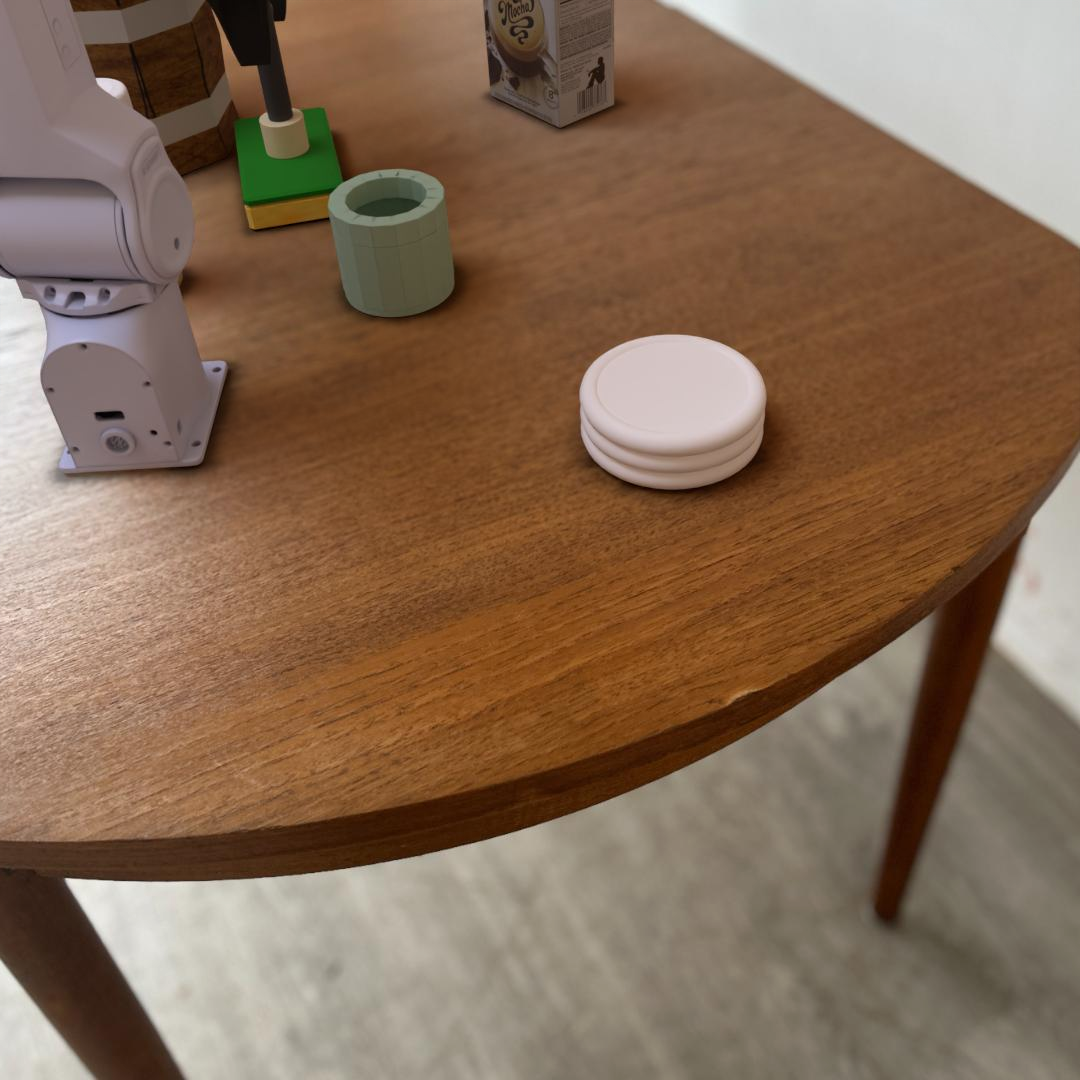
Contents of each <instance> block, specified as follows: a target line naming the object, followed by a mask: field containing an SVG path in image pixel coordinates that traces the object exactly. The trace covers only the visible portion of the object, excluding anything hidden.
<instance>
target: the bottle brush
mask: <svg viewBox="0 0 1080 1080" xmlns="http://www.w3.org/2000/svg"><path fill="white" fill-rule="evenodd" d="M270 18H271V31H272V60H271V63H270V64H269V65H258V66H256V68H257V72H258V77H259V81H260V86H261V90H262V95H263V100H264V104H265V108H266V111H265V112H264V113H262V115H260V116H261V117H260V118H259V122H260V127H261V131H262V136H263V140H264V145H265V149H266V153H267V155H268V156H270V157H272V158H276V159H290V158H294V157H298V156H300V155H302V154H304V153H305V152H307V151H308V149H309V142H308V137H307V132H306V127H305V122H304V117H303V113H302V112H301V111H300V110H301V109H298V108H294V107H292V102H291V97H290V93H289V88H288V87H289V86H288V83H287V78H286V73H285V68H284V67H285V66H284V63H283V58H282V53H281V47H280V43H279V39H278V34H277V33H278V32H277V27H276V24H275V23H276V22H274V18H273V7H272V5H271V3H270Z"/></svg>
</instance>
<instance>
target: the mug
mask: <svg viewBox="0 0 1080 1080" xmlns="http://www.w3.org/2000/svg"><path fill="white" fill-rule="evenodd" d="M70 3H71V6H72V9H73V12H74V15H75V18H76V21H77V24H78V27H79V30H80V33H81V36H82V39H83V42H84V45H85V48H86V51H87V54H88V57H89V60H90V63H91V66H92V69H93V72H94V75H95V78H109V79H115V80H118V81H120V82H121V83H123V84H124V85H125V86H126V88H127V91H128V94H129V97H130V100H131V103H132V106H133V109H134V110H135V111H137V112H138V113H140V114H141V115H142V116H144V117H145V118H147V119H148V120H150V121H151V122H153V123H154V124H155V125H156V127H157V129H158V133H159V136H160V139H161V141H162V143H163V146H164V149H165V151H166V153H167V156H168V158H169V160H170V162H171V163H172V165H173V166H174V168H175V169H176V170H177V172H178V174H179V175H180V176H181V177H182V176H183V175H186V174H188V173H191V172H193V171H195V170H198V169H200V168H203V167H205V166H207V165H210V164H213V163H215V162H218V161H220V160H223V159H224V158H228V157H229V155H230V153H231V151H232V149H233V147H234V145H235V144H236V137H235V128H234V121H236V120H238V119H241V118H240V116H239V113H238V110H237V108H236V105H235V103H234V100H233V96H232V92H231V88H230V84H229V79H228V75H227V71H226V65H225V59H224V51H223V46H222V37H221V33H220V30H219V27H218V24H217V21H216V18H215V14H214V11H213V10H212V8H211V7H210V5H209V4H208V2H207V1H206V0H70Z"/></svg>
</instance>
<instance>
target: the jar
mask: <svg viewBox="0 0 1080 1080" xmlns="http://www.w3.org/2000/svg"><path fill="white" fill-rule="evenodd" d="M328 211H329V216H330V217H329V221H330V226H331V231H332V237H333V242H334V247H335V252H336V257H337V262H338V267H339V273H340V279H341V283H342V289H343V291H344V293H345V297H346V300H347V302H348V303H349V304H350V305H351V306H352V307H353V308H354V309H356V310H357V311H359V312H362V313H363V314H367V315H369V316H374V317H380V318H381V317H382V318H401V317H402V318H403V317H409V316H414V315H417V314H421V313H425V312H426V311H429V310H431V309H434V308H435V307H437V306H439V305H440V304H441V303H443V302H445V300H447V299H448V298H449V296H450V295H451V294H452V293H453V290H454V287H455V284H456V283H455V266H454V260H453V259H454V258H453V250H452V243H451V234H450V225H449V218H448V217H449V216H448V207H447V201H446V192H445V187H444V186H443V185H442V183H441V182H440V181H439V180H438V179H437V178H436V177H435V176H432V175H429V174H428V173H425V172H422V171H420V170H414V169H406V168H395V169H394V168H391V169H379V170H375V171H374V170H373V171H369V172H366V173H361V174H358V175H356V176H353V177H352V178H350V179H348V180H346V181H343V183H342V184H340V185H339V186H338V187H337V188H336V189H335V190H334V191H333V192H332V193H331V194H330V197H329V202H328Z"/></svg>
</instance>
